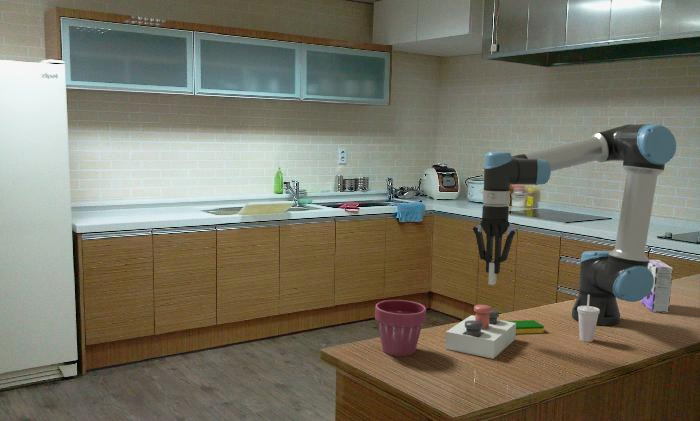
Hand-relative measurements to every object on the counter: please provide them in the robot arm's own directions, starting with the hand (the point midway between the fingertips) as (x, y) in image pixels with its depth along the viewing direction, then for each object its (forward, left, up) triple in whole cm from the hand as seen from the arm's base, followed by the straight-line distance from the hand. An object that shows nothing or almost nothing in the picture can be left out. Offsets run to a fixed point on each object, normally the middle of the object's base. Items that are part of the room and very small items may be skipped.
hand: (492, 283), depth 191 cm
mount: (0, +7, -16) cm, 18 cm away
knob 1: (0, +14, -14) cm, 20 cm away
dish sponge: (-5, -13, -17) cm, 22 cm away
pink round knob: (0, +7, -11) cm, 14 cm away
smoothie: (-25, -15, -17) cm, 33 cm away
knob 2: (0, 0, -14) cm, 14 cm away
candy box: (-38, -68, -17) cm, 79 cm away
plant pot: (+17, +26, -17) cm, 35 cm away
